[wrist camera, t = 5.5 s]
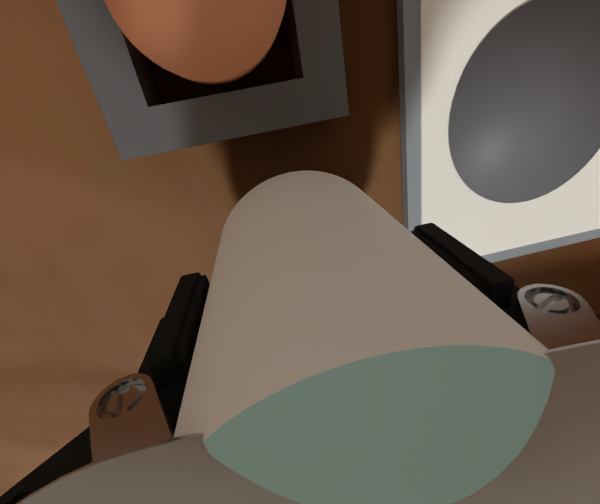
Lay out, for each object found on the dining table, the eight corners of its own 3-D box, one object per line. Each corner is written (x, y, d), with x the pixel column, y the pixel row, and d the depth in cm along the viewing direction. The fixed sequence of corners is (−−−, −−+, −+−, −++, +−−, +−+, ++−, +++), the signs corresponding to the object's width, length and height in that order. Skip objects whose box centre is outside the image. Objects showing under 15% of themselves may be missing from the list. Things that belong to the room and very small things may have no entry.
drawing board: (393, -90, 12) (403, -102, 11) (707, -139, 12) (735, -155, 12) (404, 276, 19) (411, 283, 18) (605, 230, 19) (619, 234, 19)
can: (212, 168, 12) (-99, 690, 1) (387, 165, 13) (1015, 479, 2) (229, 316, 15) (169, 833, 4) (369, 306, 16) (598, 719, 5)
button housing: (25, -139, 10) (-24, -193, 8) (304, -178, 10) (315, -236, 9) (138, 153, 14) (121, 160, 12) (336, 114, 14) (349, 115, 13)
